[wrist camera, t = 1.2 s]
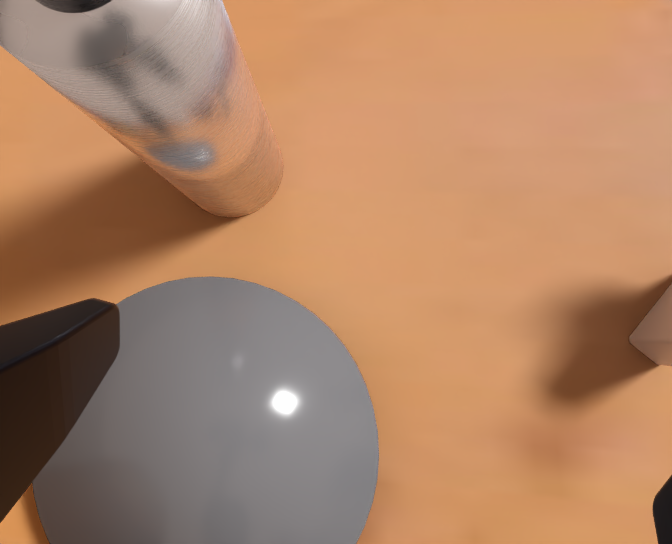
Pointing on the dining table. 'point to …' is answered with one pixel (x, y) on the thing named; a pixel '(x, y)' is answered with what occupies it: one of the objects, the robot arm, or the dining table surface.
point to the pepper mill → (158, 89)
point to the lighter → (656, 331)
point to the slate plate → (217, 428)
